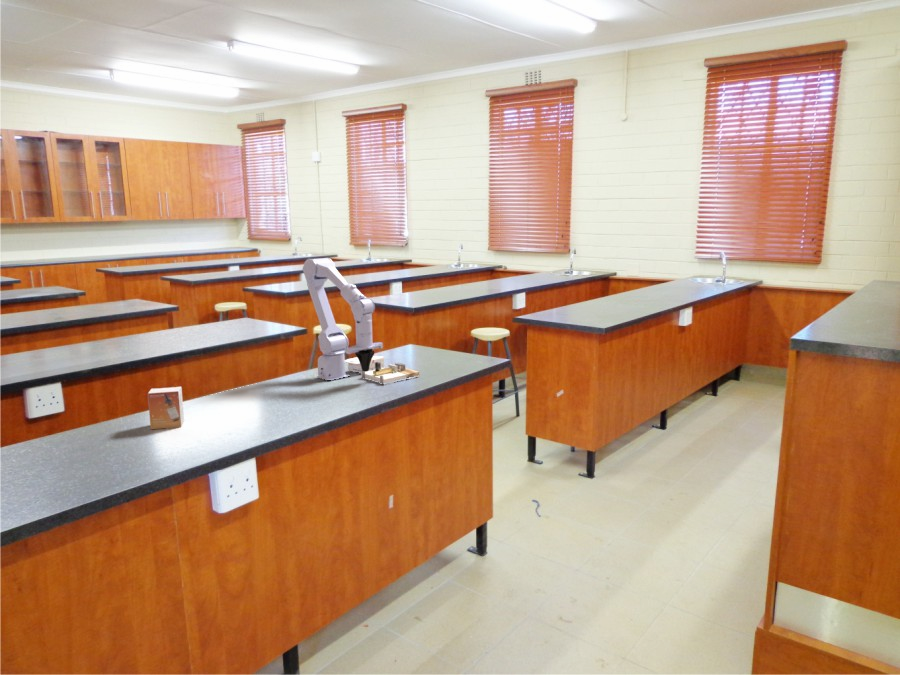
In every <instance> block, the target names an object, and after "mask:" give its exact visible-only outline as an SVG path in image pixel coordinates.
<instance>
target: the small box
mask: <svg viewBox="0 0 900 675" xmlns="http://www.w3.org/2000/svg"><path fill="white" fill-rule="evenodd" d="M147 403H148V411H149V424H150V430H158V429H159V430H160V429H177V428H182V426H183V424H184V422H185V416H184V402H183V388H182V386H176V387H175V386H171V387H160V388H158V387H157V388H156V387H155V388H151V389H150V390H149V391H148V393H147Z"/></svg>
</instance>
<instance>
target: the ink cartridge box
mask: <svg viewBox="0 0 900 675" xmlns="http://www.w3.org/2000/svg"><path fill="white" fill-rule="evenodd" d="M375 362H381V368H382V367H384V368H385V356H379V355H375V354H374V355H373V357H372V359H371V362H370V366H369V371H372V370H375ZM345 363H347V371H348V370H350V371H354V372H353V373H355V372H360V373H362V368H361V364H360V362H359V359H358V358H357V356H356V357H353V358H347V359H345ZM350 371H349V372H350ZM366 372H367V371H366Z"/></svg>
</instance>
